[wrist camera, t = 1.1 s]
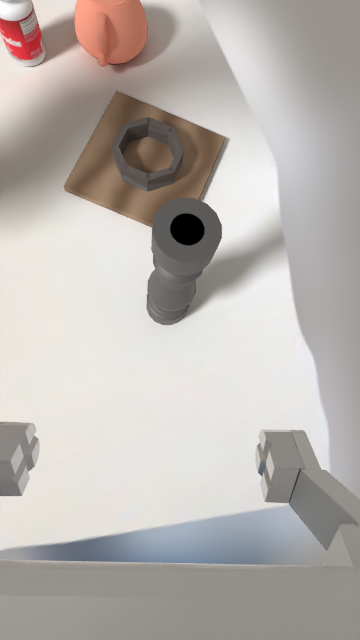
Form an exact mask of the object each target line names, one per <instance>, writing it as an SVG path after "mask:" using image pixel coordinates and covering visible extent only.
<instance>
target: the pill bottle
mask: <svg viewBox="0 0 360 640" xmlns="http://www.w3.org/2000/svg"><path fill="white" fill-rule="evenodd" d="M0 33H1V35H2V38H3V40H4V43H5V45H6V48H7V50H8V53H9V55H10V57H11V58H12V59H13V60H14V61H15V62H16V63H18V64H19V65H22V66H26V67H31V66H35V65H38V64H39V63H41V62H42V61H43V60H44V58H45V55H46V49H45V45H44V41H43V38H42V34H41V31H40V28H39V24H38V21H37V17H36V14H35V10H34V7H33V3H32V0H0Z"/></svg>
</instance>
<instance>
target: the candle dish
mask: <svg viewBox="0 0 360 640" xmlns="http://www.w3.org/2000/svg"><path fill="white" fill-rule="evenodd" d="M224 139H225V137H223V136H221V135H218V134H216V133H214V132H211V131H209V130H207V129H204V128H202V127H200V126H197V125H195V124H193V123H190V122H188V121H186V120H183V119H181V118H179V117H176V116H174V115H172V114H169V113H167V112H165V111H162V110H160V109H158V108H155V107H153V106H151V105H148V104H146V103H144V102H141V101H139V100H137V99H134V98H132V97H130V96H127V95H125V94H123V93H120V92H118V91H116V93H115V95H114V97H113V98H112V100H111V102H110V104H109V106H108V107H107V109H106V111H105V113H104V115H103V116H102V118H101V120H100V122H99V124H98V125H97V127H96V129H95V131H94V133H93V134H92V136H91V138H90V140H89V142H88V143H87V145H86V147H85V149H84V151H83V152H82V154H81V156H80V158H79V160H78V161H77V163H76V165H75V167H74V169H73V171H72V172H71V174H70V176H69V178H68V180H67V181H66V183H65V185H64V188H65V191H67V192H69V193H72V194H74V195H76V196H79V197H81V198H84V199H86V200H88V201H91V202H93V203H95V204H98V205H100V206H103V207H105V208H107V209H110V210H112V211H114V212H117V213H119V214H122V215H124V216H126V217H129V218H131V219H133V220H136V221H138V222H141V223H143V224H145V225H148V226H150V227H152V225H153V219H154V217H155V215H156V213H157V211H158V209H159V208H161V207H162V206H163V205H164V204H165V203H167V202H168V201H170V200H174V199H177V198H180V197H185V198H195V199H197V200H199V198H200V195H201V193H202V191H203V188H204V186H205V184H206V182H207V179H208V177H209V175H210V172H211V170H212V168H213V165H214V163H215V161H216V159H217V156H218V154H219V152H220V149H221V147H222V145H223V143H224Z"/></svg>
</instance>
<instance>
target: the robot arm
mask: <svg viewBox="0 0 360 640" xmlns="http://www.w3.org/2000/svg"><path fill="white" fill-rule="evenodd" d="M35 432H36V428H35V425H34V424H33V423H20V422H0V496H22V494H23V492H24V490H25V487H26V485H27V483H28V481H29V474H28V471H30V470H31V469H32V468H33V467H35V464H36V462H37V459H38V455H39V440H38V438H36V437H35V436H34V434H35ZM259 439H260V443H259V444H258V445H257V448H256V466H257V471H258V473H259V474H260V475H261V476H262V480H261V488H262V492H263V496H264V501H265V502H276V503H289V505H290V506H291V508H292V509H293V510H294V511H295V512H296V514H297V515H298V516H299V517H300V519H301V520H302V521H303V522H304V524H305V525H306V526H307V527H308V528H309V530H310V531H311V532H312V533H313V535H314V536H315V537H316V538H317V540H318V541H319V542H320V543H321V544H322V546H323V547H324V548H325V550H326V551H327V552H326V554H325V556H324V559H323V561H322V563H321V565H320V566H289V565H288V566H287V565H239V564H237V565H236V564H187V563H139V562H136V563H135V562H86V561H84V562H83V561H81V562H80V561H36V560H0V640H360V499H358V498H357V497H356V496H355V495H354V494H353V493H351V492H350V491H349V490H348V489H347V488H346V487H345V486H343V485H342V484H341V483H340V482H339V481H338V480H336V479H335V478H334V477H333V476H332V475H331V474H330V473H328V472H327V471H326V470H321V468H320V466H319V463H318V461H317V459H316V456H315V454H314V452H313V449H312V447H311V445H310V442H309V440H308V438H307V435H306V433H305V432H304V431H303V430H261V431H260V435H259Z"/></svg>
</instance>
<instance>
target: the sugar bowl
mask: <svg viewBox="0 0 360 640" xmlns="http://www.w3.org/2000/svg"><path fill="white" fill-rule="evenodd" d="M74 21H75V32H76V36H77V38H78V41H79V42H80V44H81V46H82V47H83V48H84V49H85V50H86V51H87V52H88V53H89V54H90V55H92V56H93V57H95V58H96V59H98V63H99V65H101V66H106V65H107V64H108V63H110V64H120V63H126V62H128V61H130V60H131V59H133V58H134V57H136V56H137V55H138V54H139V53H140V52H141V50H142V49H143V48H144V46H145V43H146V40H147V33H148V32H147V22H146V17H145V13H144V10H143V7H142V4H141V2H140V0H77V3H76V8H75V19H74Z"/></svg>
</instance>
